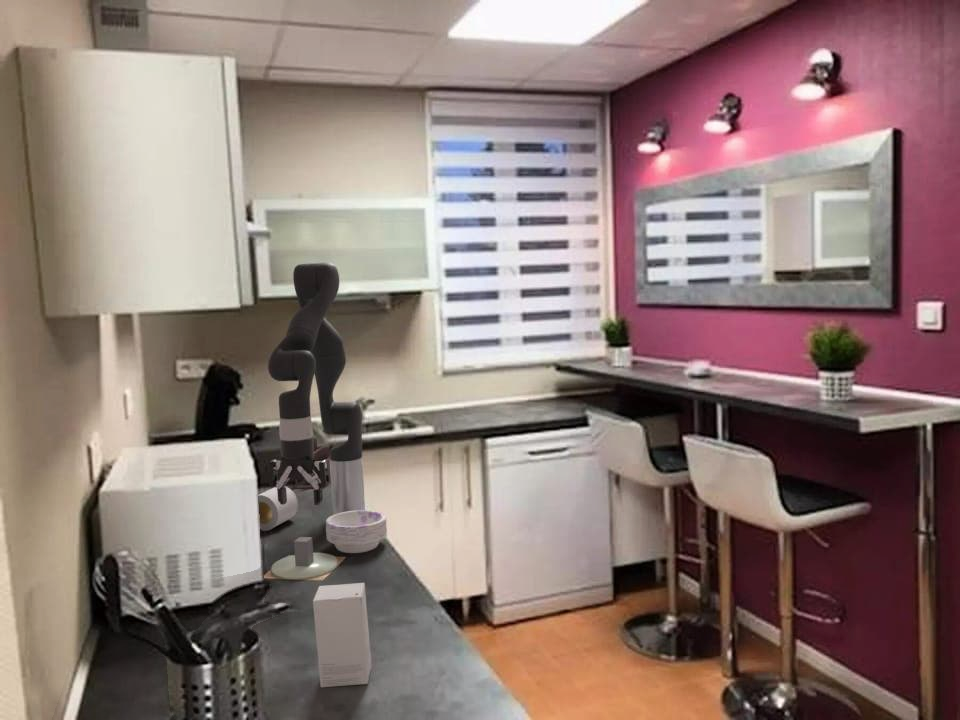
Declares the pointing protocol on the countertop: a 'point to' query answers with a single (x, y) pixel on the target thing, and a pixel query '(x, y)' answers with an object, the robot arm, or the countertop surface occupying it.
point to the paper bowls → (356, 530)
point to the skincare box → (342, 635)
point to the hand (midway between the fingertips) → (300, 504)
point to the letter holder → (318, 456)
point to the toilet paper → (275, 508)
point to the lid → (304, 562)
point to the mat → (319, 578)
